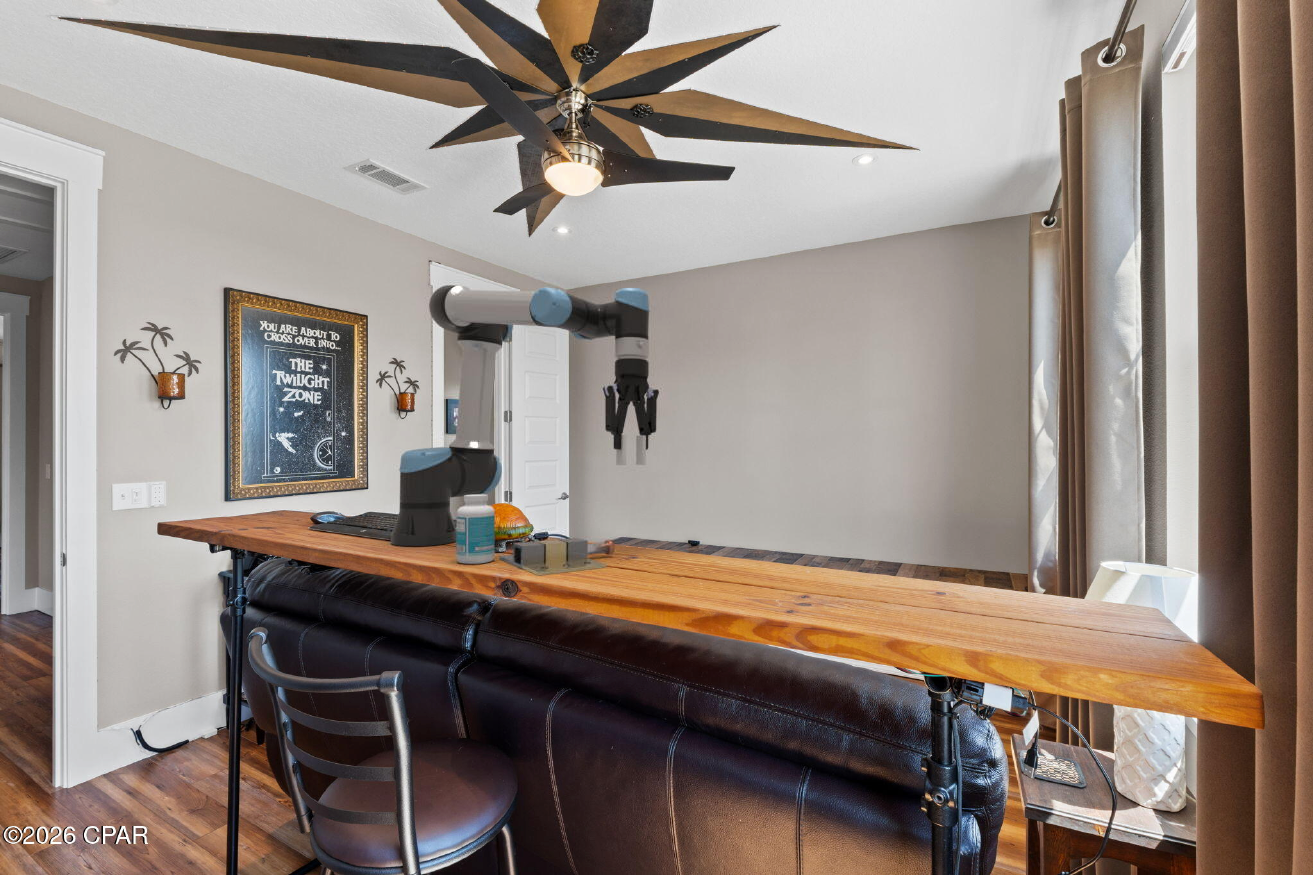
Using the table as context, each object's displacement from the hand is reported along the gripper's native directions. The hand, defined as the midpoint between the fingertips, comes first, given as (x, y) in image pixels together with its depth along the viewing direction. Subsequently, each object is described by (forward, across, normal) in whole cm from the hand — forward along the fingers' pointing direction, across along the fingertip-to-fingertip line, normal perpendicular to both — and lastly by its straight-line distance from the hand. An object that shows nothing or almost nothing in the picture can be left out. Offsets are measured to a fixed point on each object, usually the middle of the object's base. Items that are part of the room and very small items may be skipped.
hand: (631, 464), depth 128 cm
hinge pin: (+20, -13, 0) cm, 24 cm away
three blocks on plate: (+20, -19, 0) cm, 27 cm away
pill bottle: (+20, -31, +10) cm, 38 cm away
